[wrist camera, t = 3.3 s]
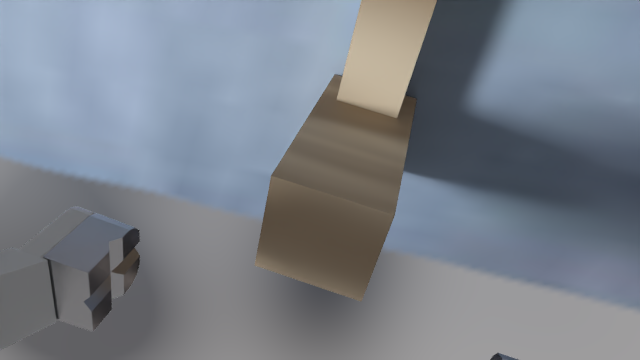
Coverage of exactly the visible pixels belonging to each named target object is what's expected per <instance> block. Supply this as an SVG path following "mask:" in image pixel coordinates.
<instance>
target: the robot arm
mask: <svg viewBox="0 0 640 360" xmlns="http://www.w3.org/2000/svg"><path fill="white" fill-rule="evenodd" d="M139 242H140V233H139V230H138V229H136V228H135V227H132V226H129V225H127V224H124V223H122V222H119V221H116V220H113V219H111V218H108V217H106V216H103V215H100V214H97V213H94V212H91V211H88V210H86V209H83V208H80V207H78V206H75V207H72V208H69V209H67V210H66V211H65V212H64V213H62V214H61V215H60V216H59V217H58V218H56V219H55V220H54V221H53V222H51V223H50V224H49V225H48V226H47V227H45V228H44V229H43V230H42V231H40V232H39V233H38V234H37V235H36V236H34V237H33V238H32V239H31V240H29V241H28V242H27V243H26V244H24V245H23V246H22V247H21V248H20V249H16V248H13V247H12V248H8V249H5V250H2V251H0V350H2V349H4V348H6V347H8V346H10V345H12V344H14V343H16V342H18V341H20V340H22V339H24V338H26V337H28V336H29V335H32V334H34V333H36V332H38V331H40V330H42V329H43V328H46V327H48V326H50V325H51V324H54V323H55V322H56V321H57V320H59V321H63V322H65V323H68V324H71V325H74V326H77V327H80V328H83V329H86V330H89V331H92V332H93V331H94V330H95V329H96V328H97V327H98V326H99V324H100V323H101V322H102V321H103V319H104V318H105V317H106V316H107V315H108V313H109V312H110V311H111V310H112V299H114V298H117V297H119V296H122V295H124V294H125V293H126V291H127V290H128V289H129V288H130V286H131V285H132V283H133V281H134V279H135V277H136V275H137V273H138V269H139V265H140V255H139V254H138V252H137V251H136V249H135V248H134V247H135V246H136V245H137V244H138V243H139ZM490 360H518V359H515V358H512V357H509V356H506V355H503V354H500V353H497V354H495V355H494V356H493V357H492V358H491V359H490Z"/></svg>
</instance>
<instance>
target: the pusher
mask: <svg viewBox="0 0 640 360" xmlns="http://www.w3.org/2000/svg"><path fill="white" fill-rule="evenodd" d="M436 2H437V0H362V1H361V5H360V9H359V13H358V17H357V20H356V24H355V28H354V32H353V36H352V40H351V44H350V48H349V52H348V56H347V60H346V64H345V68H344V72H343V76H339V75H334V76H333V78H332V80H331V81H330V83H329V84H328V86H327V88H326V89H325V91H324V92H323V94H322V96H321V97H320V99H319V100H318V102H317V104H316V105H315V107H314V108H313V110H312V112H311V113H310V115H309V116H308V118H307V119H306V121H305V123H304V124H303V126H302V127H301V129H300V131H299V132H298V134H297V135H296V137H295V139H294V140H293V142H292V143H291V145H290V147H289V148H288V150H287V151H286V153H285V155H284V156H283V158H282V159H281V161H280V163H279V164H278V166H277V167H276V169H275V171H274V172H273V174H272V175H271V180H270V185H269V191H268V196H267V202H266V207H265V212H264V218H263V223H262V229H261V234H260V239H259V245H258V250H257V256H256V261H255V266H258V267H261V268H264V269H267V270H270V271H273V272H276V273H279V274H282V275H285V276H288V277H291V278H294V279H296V280H299V281H303V282H305V283H309V284H312V285H314V286H317V287H320V288H323V289H326V290H329V291H332V292H335V293H338V294H341V295H344V296H347V297H350V298H353V299H356V300H358V301H362V298H363V296H364V293H365V291H366V288H367V286H368V283H369V280H370V278H371V275H372V273H373V270H374V267H375V265H376V262H377V259H378V257H379V254H380V252H381V249H382V247H383V244H384V242H385V239H386V236H387V234H388V231H389V229H390V226H391V223H392V221H393V218H394V216H395V211H396V206H397V200H398V195H399V190H400V185H401V179H402V174H403V169H404V164H405V159H406V153H407V148H408V143H409V138H410V132H411V127H412V122H413V117H414V111H415V106H416V101H417V99H416V98H412V97H409V96H406V95H405V93H406V90H407V87H408V84H409V81H410V78H411V76H412V73H413V70H414V67H415V64H416V61H417V58H418V55H419V52H420V49H421V46H422V43H423V40H424V37H425V34H426V31H427V28H428V25H429V23H430V20H431V17H432V14H433V11H434V8H435V5H436Z"/></svg>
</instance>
